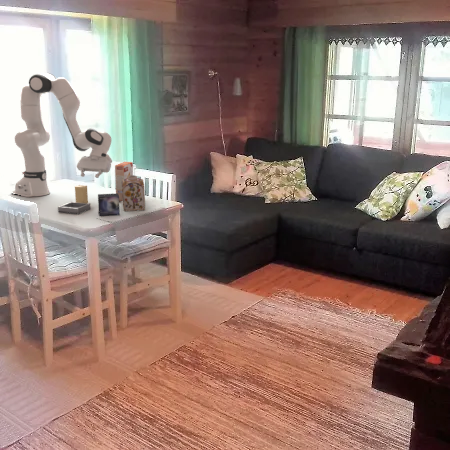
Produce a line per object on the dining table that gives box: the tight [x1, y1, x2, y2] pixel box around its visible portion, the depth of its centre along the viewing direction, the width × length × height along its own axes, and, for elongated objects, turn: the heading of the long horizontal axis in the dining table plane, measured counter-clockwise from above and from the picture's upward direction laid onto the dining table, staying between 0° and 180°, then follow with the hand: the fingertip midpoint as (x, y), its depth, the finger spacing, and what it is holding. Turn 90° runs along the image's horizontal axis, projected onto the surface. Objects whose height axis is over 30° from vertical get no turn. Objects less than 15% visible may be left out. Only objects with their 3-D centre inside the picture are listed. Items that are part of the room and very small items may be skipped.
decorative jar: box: [121, 174, 146, 212], centre depth 294 cm, size 12×12×18 cm
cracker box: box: [114, 161, 134, 202], centre depth 314 cm, size 14×6×21 cm, turn 168°
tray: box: [57, 201, 91, 215], centre depth 289 cm, size 12×12×3 cm
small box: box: [97, 193, 121, 217], centre depth 282 cm, size 11×6×10 cm, turn 107°
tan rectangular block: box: [74, 184, 89, 204], centre depth 303 cm, size 5×4×10 cm
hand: (89, 176), depth 309 cm, fingers open, 8 cm apart
